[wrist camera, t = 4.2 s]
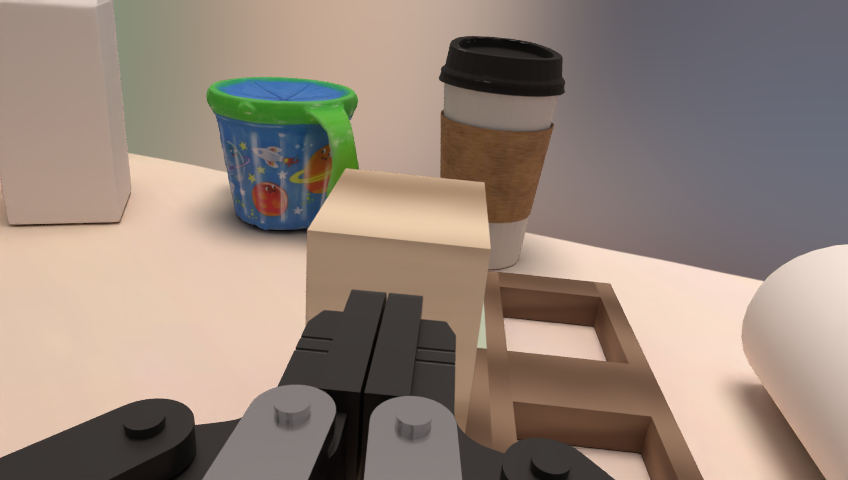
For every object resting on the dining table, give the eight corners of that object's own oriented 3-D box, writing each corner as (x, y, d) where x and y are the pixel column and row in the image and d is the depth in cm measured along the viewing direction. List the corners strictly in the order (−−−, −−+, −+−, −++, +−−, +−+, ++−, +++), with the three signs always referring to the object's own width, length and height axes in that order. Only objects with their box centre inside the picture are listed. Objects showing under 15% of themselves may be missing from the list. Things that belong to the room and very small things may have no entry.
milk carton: (34, 193, 50) (-9, -72, 43) (132, 192, 52) (107, -61, 45) (8, 227, 44) (-48, -77, 36) (120, 224, 46) (89, -64, 38)
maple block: (452, 524, 21) (490, 249, 17) (302, 507, 21) (307, 229, 17) (454, 409, 26) (484, 182, 22) (336, 396, 26) (345, 168, 23)
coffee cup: (519, 232, 51) (550, 41, 45) (549, 280, 43) (590, 56, 38) (417, 228, 50) (435, 31, 44) (429, 276, 42) (453, 45, 37)
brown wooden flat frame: (748, 657, 20) (767, 613, 19) (239, 598, 20) (238, 552, 19) (603, 311, 40) (610, 283, 39) (353, 285, 40) (354, 257, 39)
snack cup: (183, 195, 52) (175, 70, 48) (298, 180, 59) (299, 68, 55) (264, 268, 41) (262, 114, 37) (394, 240, 48) (404, 105, 44)
